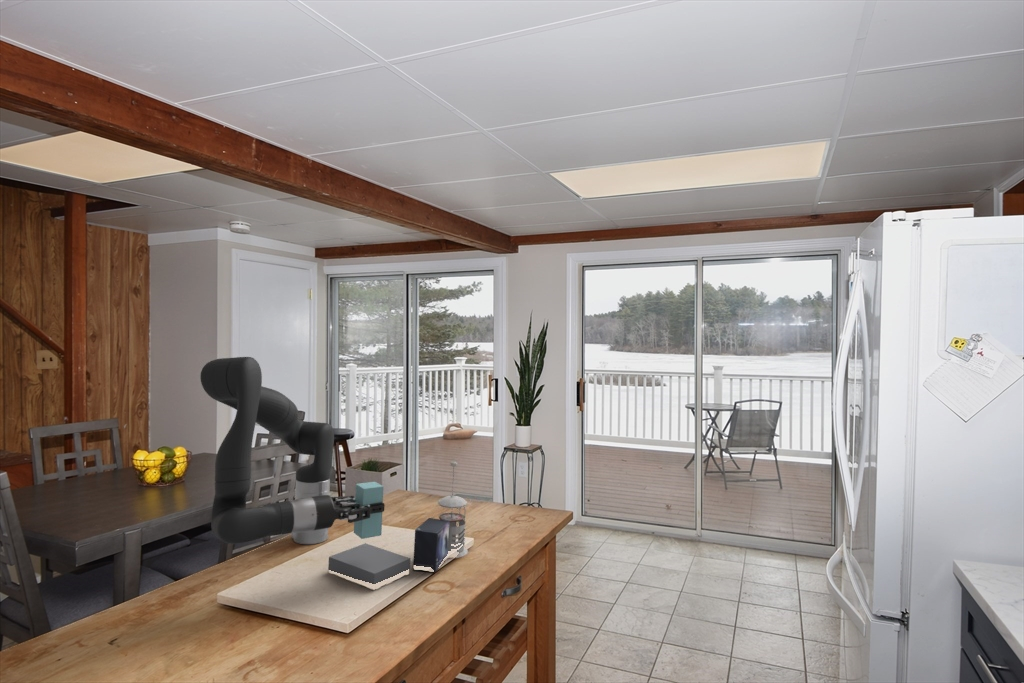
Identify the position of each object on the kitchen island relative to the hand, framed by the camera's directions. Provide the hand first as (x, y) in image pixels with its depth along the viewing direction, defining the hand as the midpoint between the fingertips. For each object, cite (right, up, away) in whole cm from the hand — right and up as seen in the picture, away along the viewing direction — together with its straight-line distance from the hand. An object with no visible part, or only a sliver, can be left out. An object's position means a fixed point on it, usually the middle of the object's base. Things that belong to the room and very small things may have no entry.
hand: (378, 503), depth 146 cm
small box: (+12, -18, +8) cm, 23 cm away
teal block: (-2, -7, -1) cm, 7 cm away
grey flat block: (-3, -18, +1) cm, 18 cm away
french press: (+16, -18, +19) cm, 31 cm away
